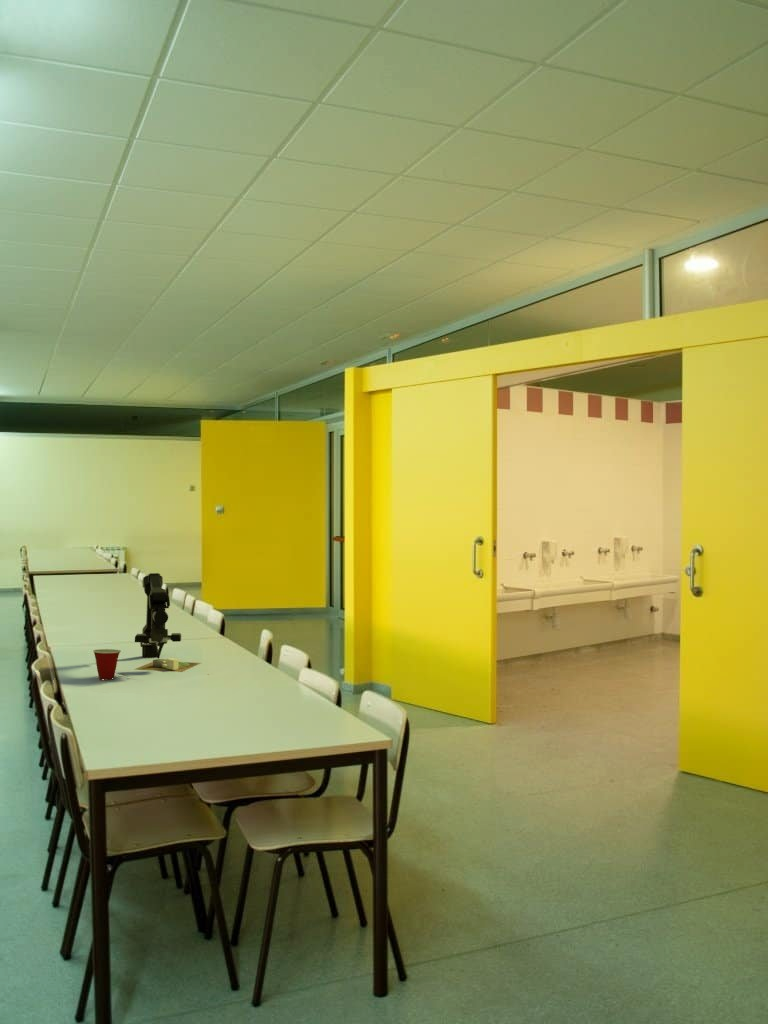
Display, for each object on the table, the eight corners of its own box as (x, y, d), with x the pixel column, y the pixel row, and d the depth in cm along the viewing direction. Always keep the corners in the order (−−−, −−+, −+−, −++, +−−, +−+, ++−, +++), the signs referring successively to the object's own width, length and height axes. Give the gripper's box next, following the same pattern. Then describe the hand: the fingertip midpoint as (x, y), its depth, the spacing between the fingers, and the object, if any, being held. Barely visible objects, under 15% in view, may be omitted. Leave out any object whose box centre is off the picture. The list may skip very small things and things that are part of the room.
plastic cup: (126, 677, 355) (126, 648, 355) (107, 682, 345) (107, 652, 345) (106, 675, 360) (106, 646, 360) (87, 680, 350) (87, 650, 350)
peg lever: (150, 665, 372) (150, 656, 372) (161, 664, 377) (161, 654, 377) (170, 670, 362) (170, 661, 362) (181, 668, 367) (182, 659, 367)
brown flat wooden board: (133, 672, 367) (133, 669, 366) (156, 663, 387) (156, 660, 387) (181, 674, 362) (181, 671, 362) (202, 665, 382) (202, 662, 382)
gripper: (133, 624, 353) (133, 662, 354) (179, 623, 357) (179, 661, 357) (136, 620, 364) (136, 657, 365) (181, 619, 368) (181, 656, 368)
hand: (158, 658), depth 363 cm, fingers closed
